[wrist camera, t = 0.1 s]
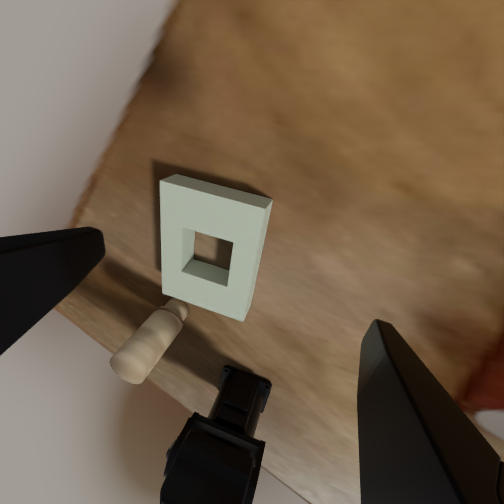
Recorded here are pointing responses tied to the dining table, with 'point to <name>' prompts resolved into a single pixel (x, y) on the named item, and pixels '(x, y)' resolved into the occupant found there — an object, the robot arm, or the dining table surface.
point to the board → (218, 225)
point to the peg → (149, 342)
